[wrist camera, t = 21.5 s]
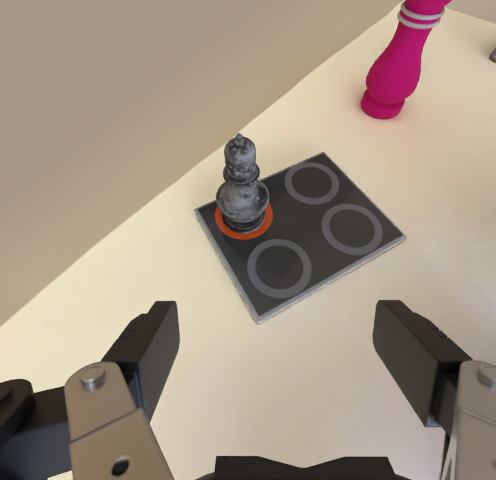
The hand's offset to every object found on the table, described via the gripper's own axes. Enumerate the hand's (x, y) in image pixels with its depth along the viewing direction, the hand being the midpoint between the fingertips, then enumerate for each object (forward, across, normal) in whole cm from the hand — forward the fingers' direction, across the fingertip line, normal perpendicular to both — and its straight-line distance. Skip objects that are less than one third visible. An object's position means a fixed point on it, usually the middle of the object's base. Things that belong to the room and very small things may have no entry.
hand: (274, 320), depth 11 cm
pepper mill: (+41, -20, -14) cm, 47 cm away
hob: (+24, -4, +2) cm, 25 cm away
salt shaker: (+24, +2, 0) cm, 24 cm away
